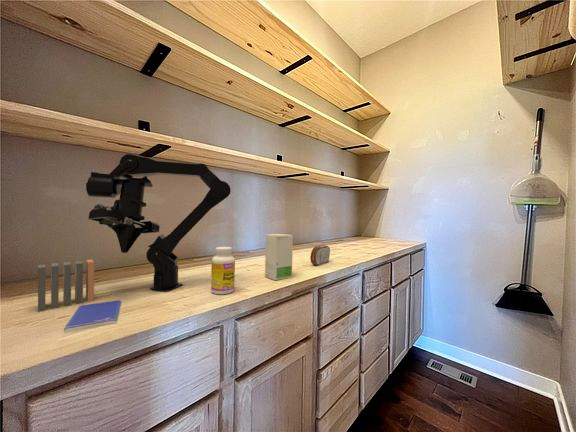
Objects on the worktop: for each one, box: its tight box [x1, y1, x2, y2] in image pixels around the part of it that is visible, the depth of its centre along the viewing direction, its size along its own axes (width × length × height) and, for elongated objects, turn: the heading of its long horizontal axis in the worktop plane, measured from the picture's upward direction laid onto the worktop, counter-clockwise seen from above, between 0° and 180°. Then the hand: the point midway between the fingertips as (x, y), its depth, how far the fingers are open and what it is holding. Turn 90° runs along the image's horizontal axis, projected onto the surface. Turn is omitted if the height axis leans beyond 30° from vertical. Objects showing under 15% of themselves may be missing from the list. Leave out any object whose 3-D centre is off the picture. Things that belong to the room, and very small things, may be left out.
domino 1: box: [37, 264, 47, 313], centre depth 57 cm, size 1×4×10 cm, turn 46°
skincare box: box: [264, 233, 294, 281], centre depth 87 cm, size 8×7×16 cm
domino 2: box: [50, 262, 60, 310], centre depth 58 cm, size 1×4×10 cm, turn 46°
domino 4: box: [85, 259, 95, 303], centre depth 63 cm, size 1×4×10 cm, turn 46°
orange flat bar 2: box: [74, 260, 84, 305], centre depth 61 cm, size 1×4×10 cm, turn 45°
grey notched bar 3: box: [62, 261, 72, 307], centre depth 60 cm, size 1×4×10 cm, turn 45°
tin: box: [309, 244, 331, 266], centre depth 111 cm, size 15×3×8 cm, turn 144°
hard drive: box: [63, 299, 122, 334], centre depth 53 cm, size 2×8×12 cm
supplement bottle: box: [210, 246, 236, 295], centre depth 71 cm, size 7×7×13 cm
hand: (124, 252), depth 65 cm, fingers closed
